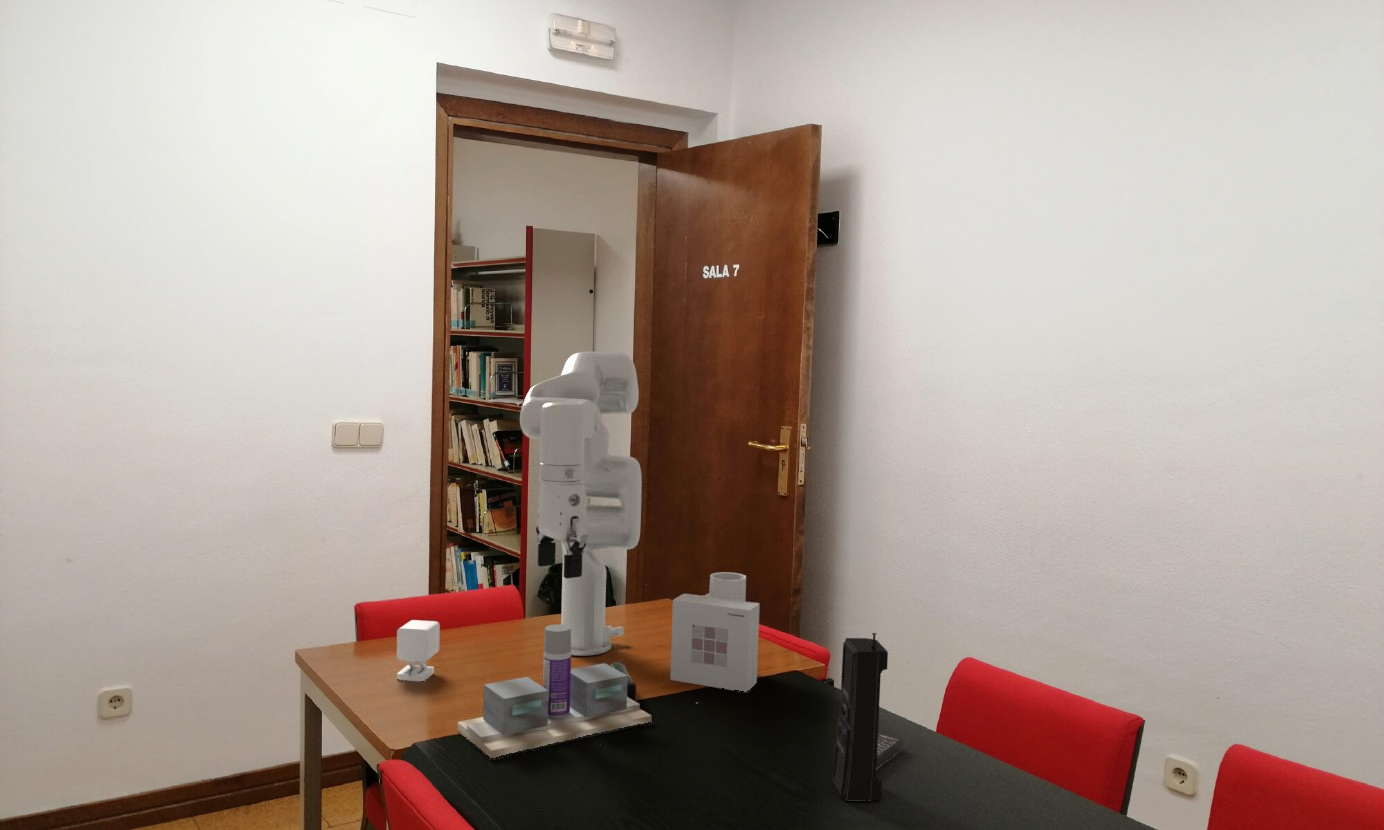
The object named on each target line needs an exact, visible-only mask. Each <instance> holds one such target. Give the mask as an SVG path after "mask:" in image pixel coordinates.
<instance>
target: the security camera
mask: <svg viewBox="0 0 1384 830" xmlns="http://www.w3.org/2000/svg"><path fill="white" fill-rule="evenodd" d="M440 626H441V625H440V623H439V622H438V621H436V620H435V621H434V620H421V619H420V620H419V619H418V620H417V619H411V620H410V621H408V622H407V623H405V624H404V625H402V626H400V627H398V629H397V631H396V658H397V660H399V661H406V662H407V665H406V666H405V667H403V668H402V669H401V670H400V671H398V672H397V673H396V675H397V676H396V677H397V679H399V680H398V681H406V680H407V682H408V681H409V682H421V681H424V682H426V679H427V680H428V679H429V678H430V677H431V676H432V675H434V673H435V667H434V666H430V665H429V666H428V665H426V662H428V661H429V659H431V658H432V657H433V656H434V655H435V654H437V653H438V652H439V651H440V635H441V633H440V630H441V627H440ZM415 663H418V664H419V665H415ZM397 679H396V680H397Z"/></svg>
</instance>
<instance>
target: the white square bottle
mask: <svg viewBox="0 0 1384 830" xmlns="http://www.w3.org/2000/svg"><path fill="white" fill-rule="evenodd" d="M746 589H747V575H745V574H742V573H739V572H738V573H737V572H725V571H722V572H714V573H711V574H710V575H709V592H708V593H706V594H705V595H702V594H701V595H699V594H691V593H682V594H680V595H679V596H677V597H675V598H674V599H673V600H672V613H671V614H672V615H671V618H672V619H671V646H670V647H671V648H670V673H669V674H670V681H674V682H680V683H686V684H687V683H688V684H693V685H699V686H706V687H710V688H711V687H712V688H716V689H722V688H724V690H729V691H734V690H739V691H738V692H740V691H744V692H743V693H746V692H747V691H748V690H749V691H751V690H752V689H753V688H754V687H755V686H756V685H757V684H756V683H757V680H758V656H759V655H758V654H759V633H760V632H759V631H760V627H759V626H760V602H752V601H746V599H747V597H746V594H747V593H746V592H747V591H746ZM755 684H756V685H755ZM754 685H755V686H754ZM753 686H754V687H753ZM752 687H753V688H752ZM751 688H752V689H751ZM750 689H751V690H750ZM749 691H748V692H749ZM748 692H747V693H748Z"/></svg>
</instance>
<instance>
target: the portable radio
mask: <svg viewBox="0 0 1384 830" xmlns="http://www.w3.org/2000/svg"><path fill="white" fill-rule="evenodd" d="M871 634H872V638H866V637H865V638H864V637H846V638H845V641H844V642H843V643H842V661H841V662H842V663H841V685H840V693H841V695H842V696H841V697H842V698H841V708H840V709H841V711H840V713H841V714H838V716H837V727H836V728H837V729H836V740H835V741H836V742H835V752H834V762H833V770H832V782H833V784H834V786H835V788H836V790H837V792H838V793H839V795H840V797H841V798H842V799H843V798H844V799H845V800H862V801H863V800H865V801H868V800H876V801H880V800H882V786H883V783H882V782H883V781H882V778H881V777H880V776H879V774H878V772H877V770H876V768H877V744H878V734H879V719H880V718H879V717H880V716H879V715H880V700H881V699H880V696H881V695H880V694H881V677H882V675H881V674H882V673H883V671H885V670H888V661H889V660H888V659H889V652H888V650H887V649H886V648H885V647H884V646H883V645H882V644H881V643H880V642H879V641H878V640H877V639H876V635H877V632H872V633H871ZM844 799H843V800H844ZM879 799H880V800H879Z"/></svg>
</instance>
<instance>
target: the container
mask: <svg viewBox="0 0 1384 830" xmlns="http://www.w3.org/2000/svg"><path fill="white" fill-rule="evenodd" d="M543 643H544V644H543V664H542V665H543V668H542V669H543V670H542V671H543V672H542V673H543V674H542V678H543V679H542V687H544V688H545V689H547V690H548V718H563V717H566V716H568V715H569V714H570V683H571V669H572V655H571V627H570V626H567V625H561V623H560V624H550V625H547V626H545V627H544V641H543Z"/></svg>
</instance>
